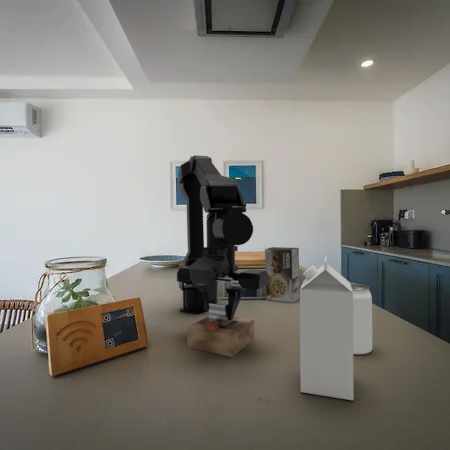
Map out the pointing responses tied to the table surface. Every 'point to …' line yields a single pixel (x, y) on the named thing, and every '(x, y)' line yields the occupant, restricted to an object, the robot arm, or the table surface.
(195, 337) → the tan stand block
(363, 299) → the can
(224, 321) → the ratchet post
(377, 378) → the table surface
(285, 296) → the coffee box
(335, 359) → the milk carton
